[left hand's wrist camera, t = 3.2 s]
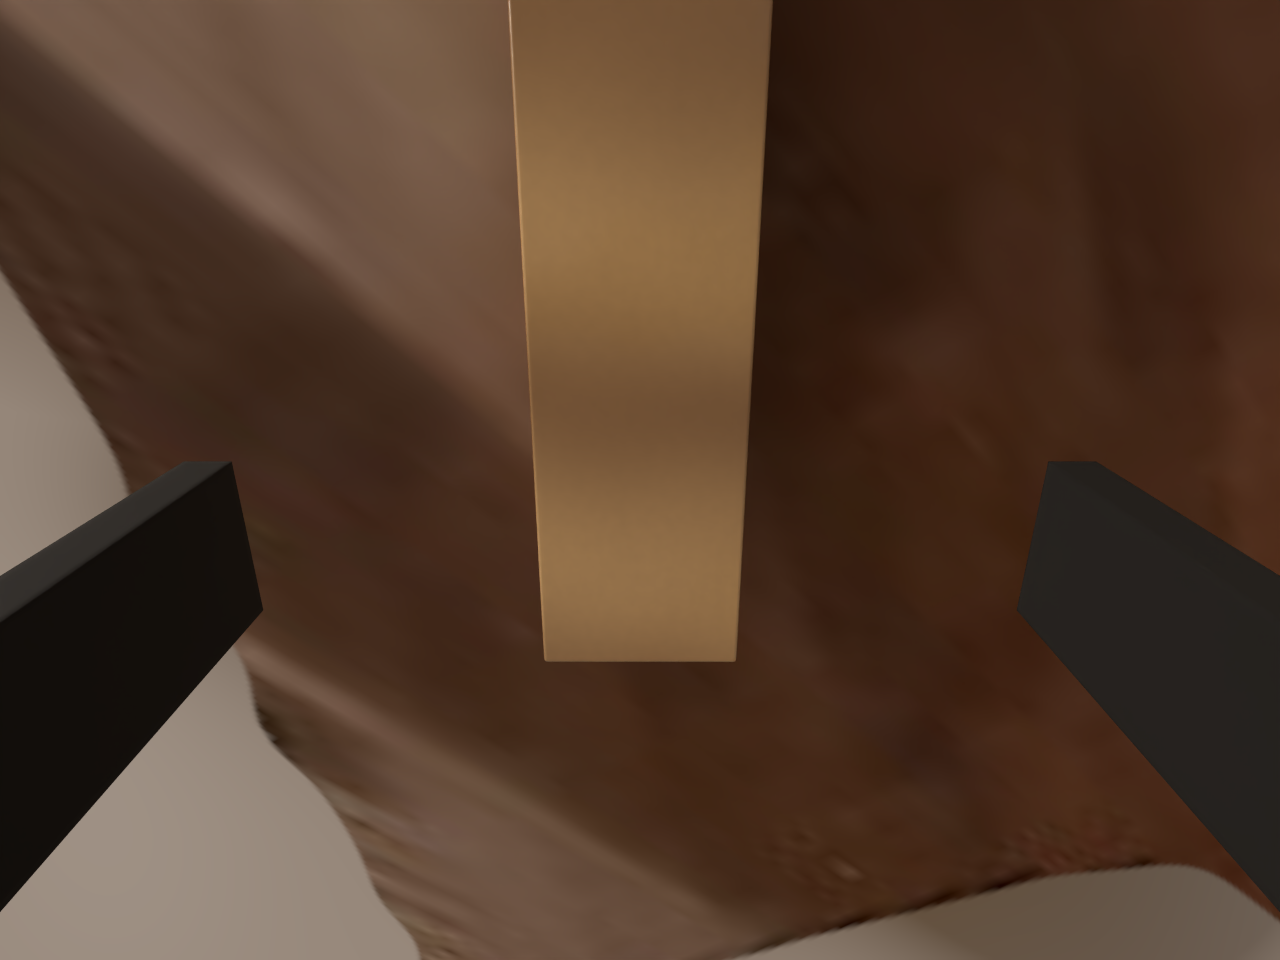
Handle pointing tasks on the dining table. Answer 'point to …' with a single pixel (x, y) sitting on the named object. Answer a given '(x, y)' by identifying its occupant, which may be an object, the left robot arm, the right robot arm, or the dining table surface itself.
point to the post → (640, 313)
